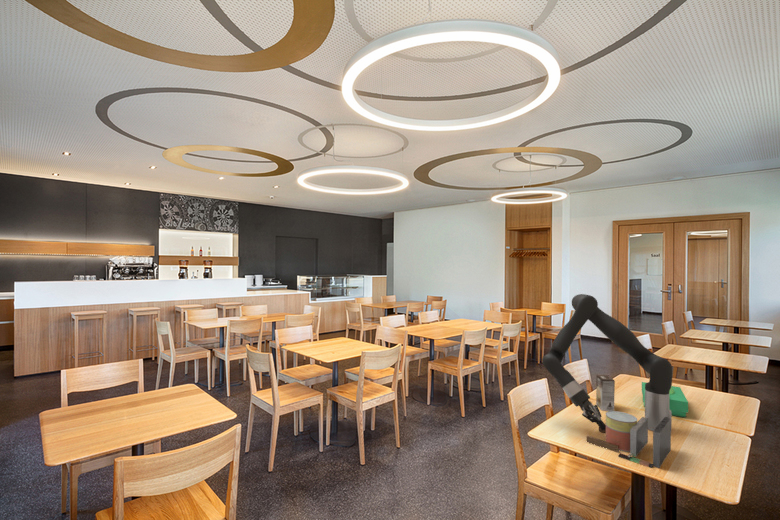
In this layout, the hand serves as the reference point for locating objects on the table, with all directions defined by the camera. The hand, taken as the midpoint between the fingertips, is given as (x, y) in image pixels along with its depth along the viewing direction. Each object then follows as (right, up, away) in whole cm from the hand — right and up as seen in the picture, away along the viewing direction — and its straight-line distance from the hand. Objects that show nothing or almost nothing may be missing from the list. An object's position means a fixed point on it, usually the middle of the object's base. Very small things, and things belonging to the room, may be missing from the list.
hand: (605, 429), depth 164 cm
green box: (+51, -6, +36) cm, 63 cm away
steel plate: (+8, -4, -10) cm, 13 cm away
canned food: (+4, -5, -5) cm, 8 cm away
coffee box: (+21, -5, +37) cm, 43 cm away
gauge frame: (+5, -5, -7) cm, 10 cm away
